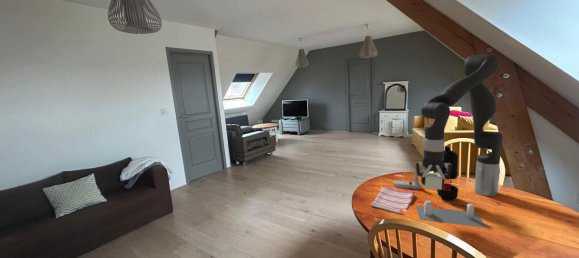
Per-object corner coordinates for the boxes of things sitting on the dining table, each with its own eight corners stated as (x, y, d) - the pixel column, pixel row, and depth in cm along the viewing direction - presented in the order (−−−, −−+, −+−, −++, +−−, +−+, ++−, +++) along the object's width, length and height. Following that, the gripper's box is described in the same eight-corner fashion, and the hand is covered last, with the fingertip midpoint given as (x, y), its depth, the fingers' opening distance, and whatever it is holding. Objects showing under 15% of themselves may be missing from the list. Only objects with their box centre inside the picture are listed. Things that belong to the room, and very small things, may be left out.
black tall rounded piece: (456, 208, 113) (459, 148, 108) (434, 203, 119) (436, 146, 114) (459, 197, 123) (462, 141, 118) (439, 192, 129) (441, 139, 124)
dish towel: (415, 196, 129) (415, 190, 128) (406, 216, 110) (406, 209, 110) (382, 190, 139) (382, 184, 138) (370, 207, 120) (370, 201, 120)
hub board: (419, 222, 104) (420, 206, 103) (416, 209, 115) (416, 194, 114) (486, 230, 95) (487, 213, 94) (475, 215, 106) (476, 199, 105)
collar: (425, 188, 103) (425, 177, 102) (423, 182, 108) (423, 172, 107) (441, 189, 101) (442, 178, 100) (438, 183, 106) (439, 173, 105)
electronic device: (393, 169, 144) (421, 170, 137) (393, 184, 146) (421, 186, 138) (392, 172, 139) (421, 174, 132) (393, 187, 141) (421, 190, 134)
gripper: (415, 150, 101) (415, 187, 104) (455, 151, 95) (453, 190, 98) (414, 145, 108) (413, 180, 110) (451, 146, 102) (449, 183, 105)
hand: (432, 185), depth 104 cm, fingers closed on collar, 6 cm apart
